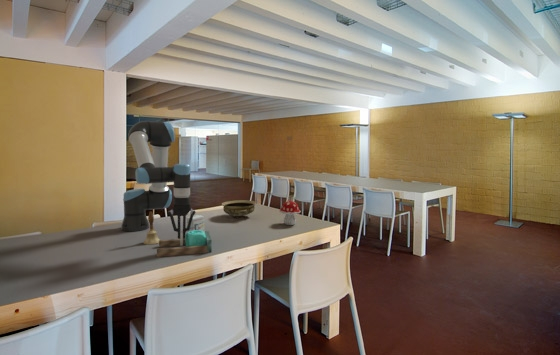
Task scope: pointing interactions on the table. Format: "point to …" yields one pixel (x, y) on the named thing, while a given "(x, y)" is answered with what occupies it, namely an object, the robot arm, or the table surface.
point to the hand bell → (151, 232)
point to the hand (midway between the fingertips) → (181, 245)
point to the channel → (183, 250)
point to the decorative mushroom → (289, 212)
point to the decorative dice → (195, 238)
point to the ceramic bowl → (239, 208)
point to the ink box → (197, 223)
